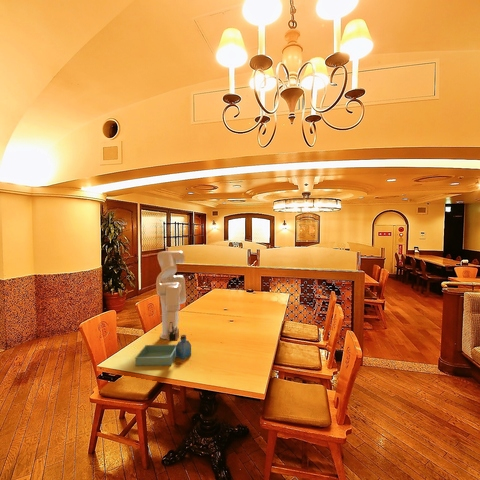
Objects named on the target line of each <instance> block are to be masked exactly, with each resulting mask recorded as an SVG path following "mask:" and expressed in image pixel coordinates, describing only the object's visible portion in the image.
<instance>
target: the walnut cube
mask: <svg viewBox="0 0 480 480" xmlns="http://www.w3.org/2000/svg"><path fill="white" fill-rule="evenodd" d="M179 329H180V328H177V329H175V341H174V342H178V340H179V338H180V330H179ZM172 331H173V330H172ZM167 341H168V342H170V341H169V332H168V339H167Z"/></svg>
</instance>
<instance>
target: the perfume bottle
mask: <svg viewBox="0 0 480 480" xmlns="http://www.w3.org/2000/svg"><path fill="white" fill-rule="evenodd" d="M179 338H180V339H179V340H180V341H177V344H175V345H176V357H175V358H178V359H181V360H185V359H187V358H189V357H191V356H192V344H191V343H190V342H189V340H187V335H186V334H181V335H180V337H179Z"/></svg>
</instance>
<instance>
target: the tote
mask: <svg viewBox="0 0 480 480" xmlns="http://www.w3.org/2000/svg"><path fill="white" fill-rule="evenodd" d="M176 345H177V344H145V345H144V346H143V348H142V349H141V350H140V351H139V353H138V354H137V356H135V359H134V361H135V362H134V363H135V367H151V366H153V367H154V366H155V367H156V366H157V367H159V366H161V367H164V366H165V367H166V366H172V364H173V363H174V361H175V359H176V358H177V357H176Z"/></svg>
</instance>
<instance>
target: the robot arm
mask: <svg viewBox="0 0 480 480" xmlns="http://www.w3.org/2000/svg"><path fill="white" fill-rule="evenodd" d="M185 255H186V254H185V252H183V250H163V251H159V252H158V253H157V261H158V264H159V267H160V270H161V272H160V273H159V274H158V275H157V277H156V282H155V285H156V287H155V288H156V294H157V296H159V297H160V299H159V300H160V304H161V321H162V323H161V327H162V328H161V329H162V330H161V331H162V332H161V333H160V335H159V337H160V339H162V340H168V332H169V341H168V342H176V341H175V329H178V325H179V320H180V318H179V311H180V310H181V304H185V303H186V301H187V291H186V280H185V276H184V275H182V274H177V275H176V273H177V271H178V266H177V264H184V263H185V261H186V256H185ZM172 330H173V331H172Z"/></svg>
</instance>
